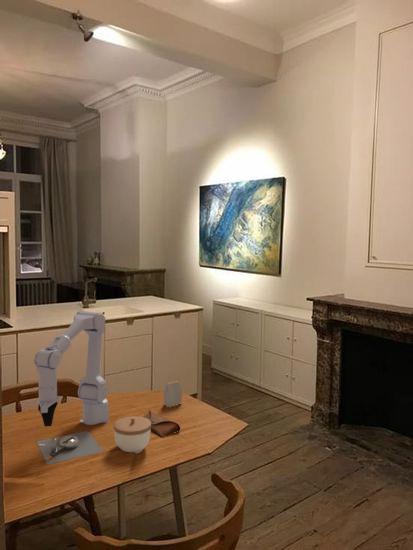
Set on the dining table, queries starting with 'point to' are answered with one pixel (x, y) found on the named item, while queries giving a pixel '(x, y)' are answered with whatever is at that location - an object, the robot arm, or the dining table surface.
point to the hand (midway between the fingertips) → (48, 425)
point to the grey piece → (63, 444)
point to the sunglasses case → (161, 424)
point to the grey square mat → (83, 449)
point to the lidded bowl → (132, 433)
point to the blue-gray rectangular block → (172, 394)
